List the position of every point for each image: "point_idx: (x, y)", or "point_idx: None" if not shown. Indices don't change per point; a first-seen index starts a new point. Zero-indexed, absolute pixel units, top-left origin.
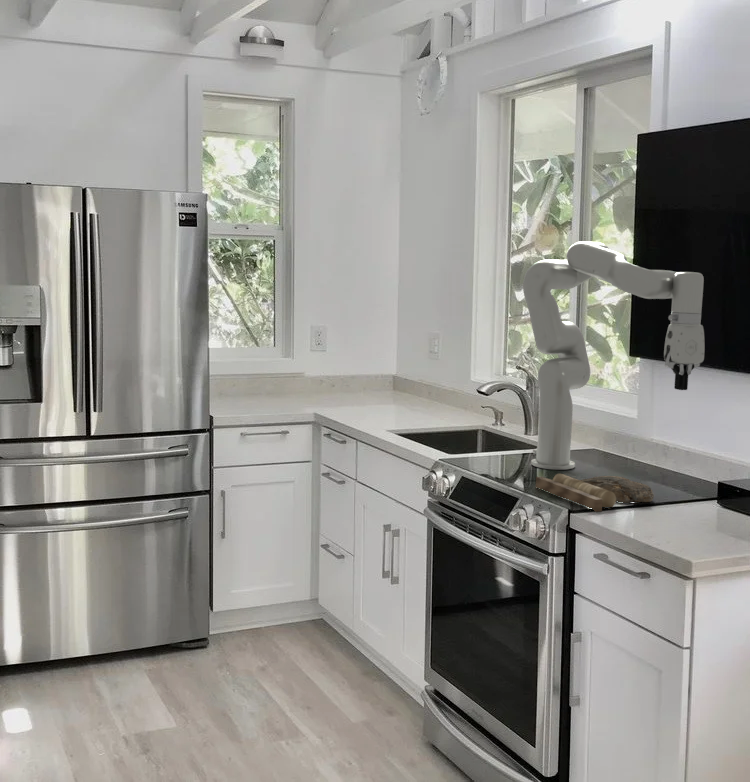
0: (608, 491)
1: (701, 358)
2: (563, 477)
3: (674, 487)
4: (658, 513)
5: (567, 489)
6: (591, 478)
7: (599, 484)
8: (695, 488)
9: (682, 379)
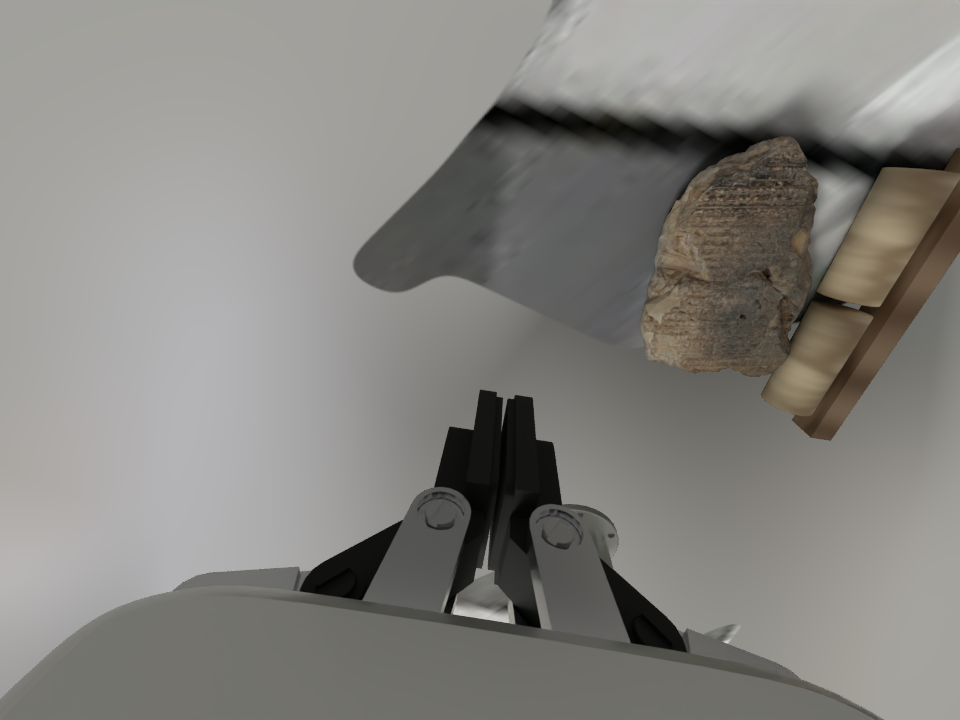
0: (950, 173)
1: (116, 685)
2: (829, 385)
3: (479, 277)
4: (839, 30)
5: (920, 306)
6: (749, 356)
7: (800, 297)
8: (432, 241)
9: (533, 466)
